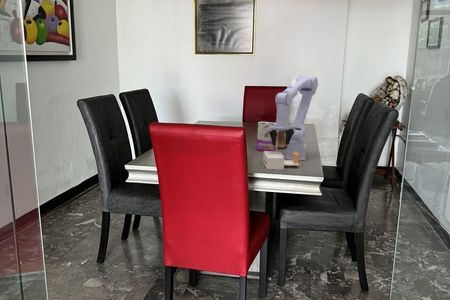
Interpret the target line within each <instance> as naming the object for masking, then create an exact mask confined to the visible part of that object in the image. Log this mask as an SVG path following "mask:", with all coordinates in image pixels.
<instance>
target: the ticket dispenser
mask: <svg viewBox="0 0 450 300" xmlns="http://www.w3.org/2000/svg"><path fill="white" fill-rule="evenodd" d="M262 152H263V153H262V154H263V156H262V163H263V164H264V166H265V168H266V170H283V171H284V169H285V165H284V160H286V157H285V155H284V154H283V153H282V151H281V150H277V152H274V151H262Z"/></svg>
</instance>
